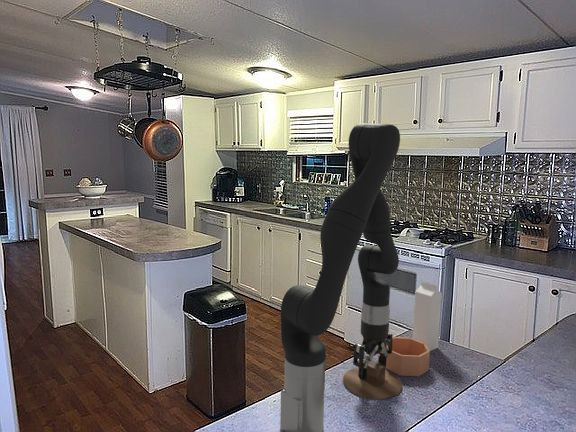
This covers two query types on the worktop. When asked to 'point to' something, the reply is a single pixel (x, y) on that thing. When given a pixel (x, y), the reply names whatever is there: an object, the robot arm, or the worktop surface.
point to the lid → (373, 382)
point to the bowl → (408, 357)
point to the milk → (427, 315)
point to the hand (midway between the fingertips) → (372, 374)
